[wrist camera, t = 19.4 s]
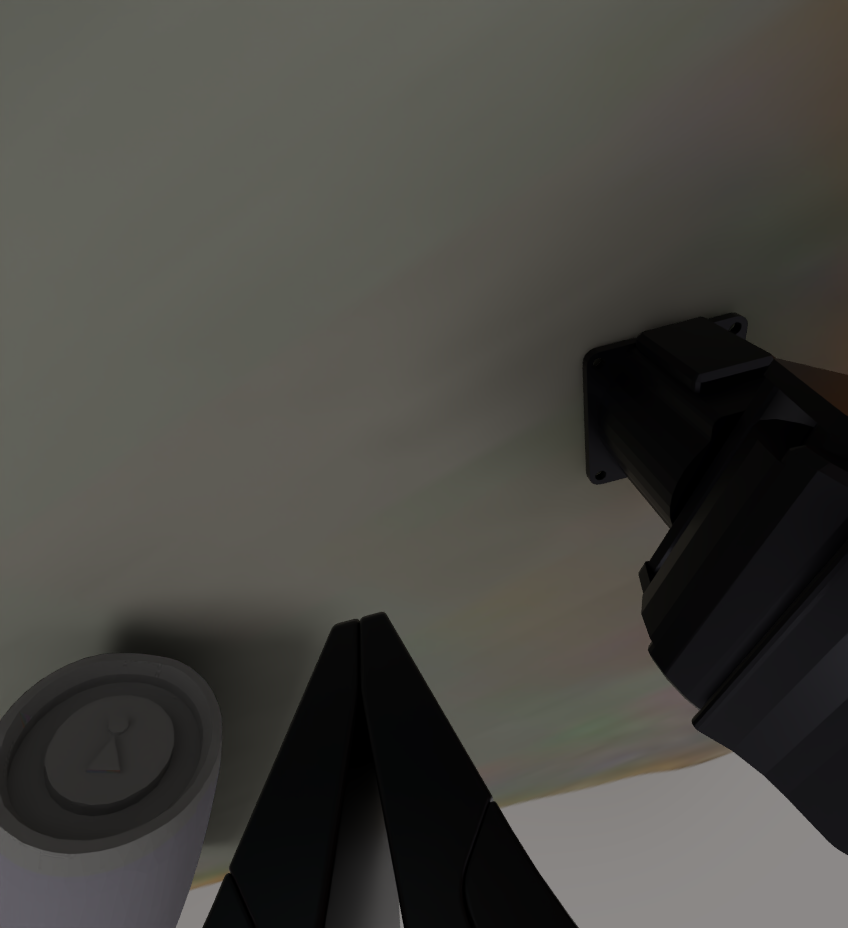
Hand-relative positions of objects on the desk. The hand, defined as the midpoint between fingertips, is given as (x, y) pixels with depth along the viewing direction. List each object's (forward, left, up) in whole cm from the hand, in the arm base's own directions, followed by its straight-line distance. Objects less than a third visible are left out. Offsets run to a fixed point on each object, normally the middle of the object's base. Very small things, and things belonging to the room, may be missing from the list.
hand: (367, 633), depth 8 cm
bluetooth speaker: (-21, +19, -13) cm, 31 cm away
